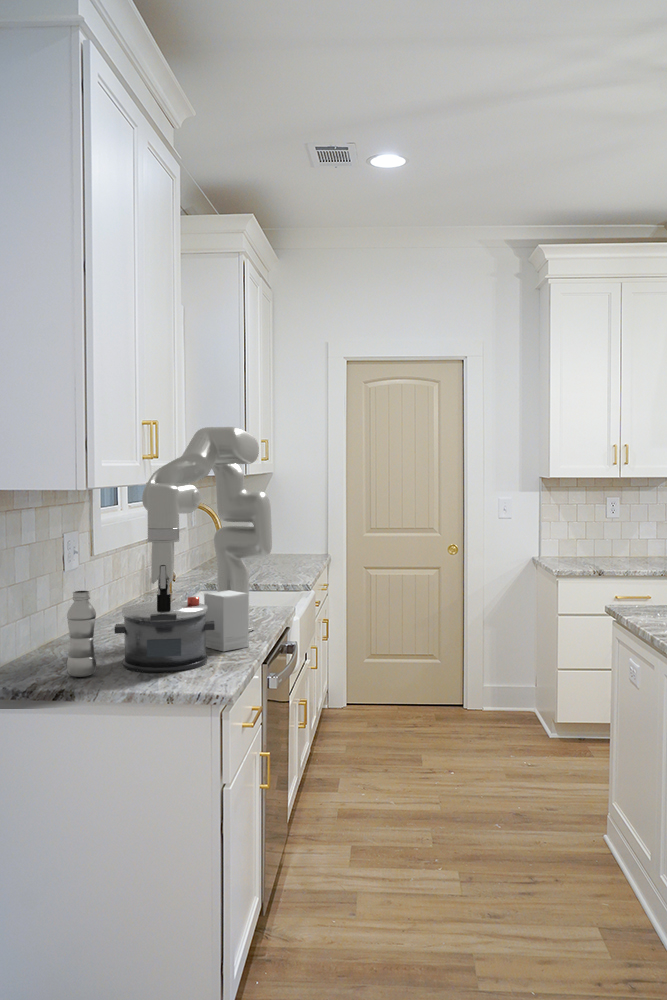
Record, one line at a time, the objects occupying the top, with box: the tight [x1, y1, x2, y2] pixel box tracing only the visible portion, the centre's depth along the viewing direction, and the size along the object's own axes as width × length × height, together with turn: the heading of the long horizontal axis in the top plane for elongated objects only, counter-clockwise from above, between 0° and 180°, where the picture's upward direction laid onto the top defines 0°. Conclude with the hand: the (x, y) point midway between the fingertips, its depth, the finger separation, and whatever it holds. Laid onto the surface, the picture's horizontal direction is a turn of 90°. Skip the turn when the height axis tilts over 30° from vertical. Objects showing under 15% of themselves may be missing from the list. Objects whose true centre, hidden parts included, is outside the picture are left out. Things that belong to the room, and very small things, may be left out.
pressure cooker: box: [114, 614, 215, 674], centre depth 199 cm, size 22×24×12 cm
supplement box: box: [203, 590, 250, 652], centre depth 217 cm, size 9×9×15 cm
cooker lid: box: [121, 596, 207, 621], centre depth 197 cm, size 23×21×4 cm
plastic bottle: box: [66, 590, 97, 678], centre depth 186 cm, size 6×7×20 cm
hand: (163, 610), depth 192 cm, fingers closed
